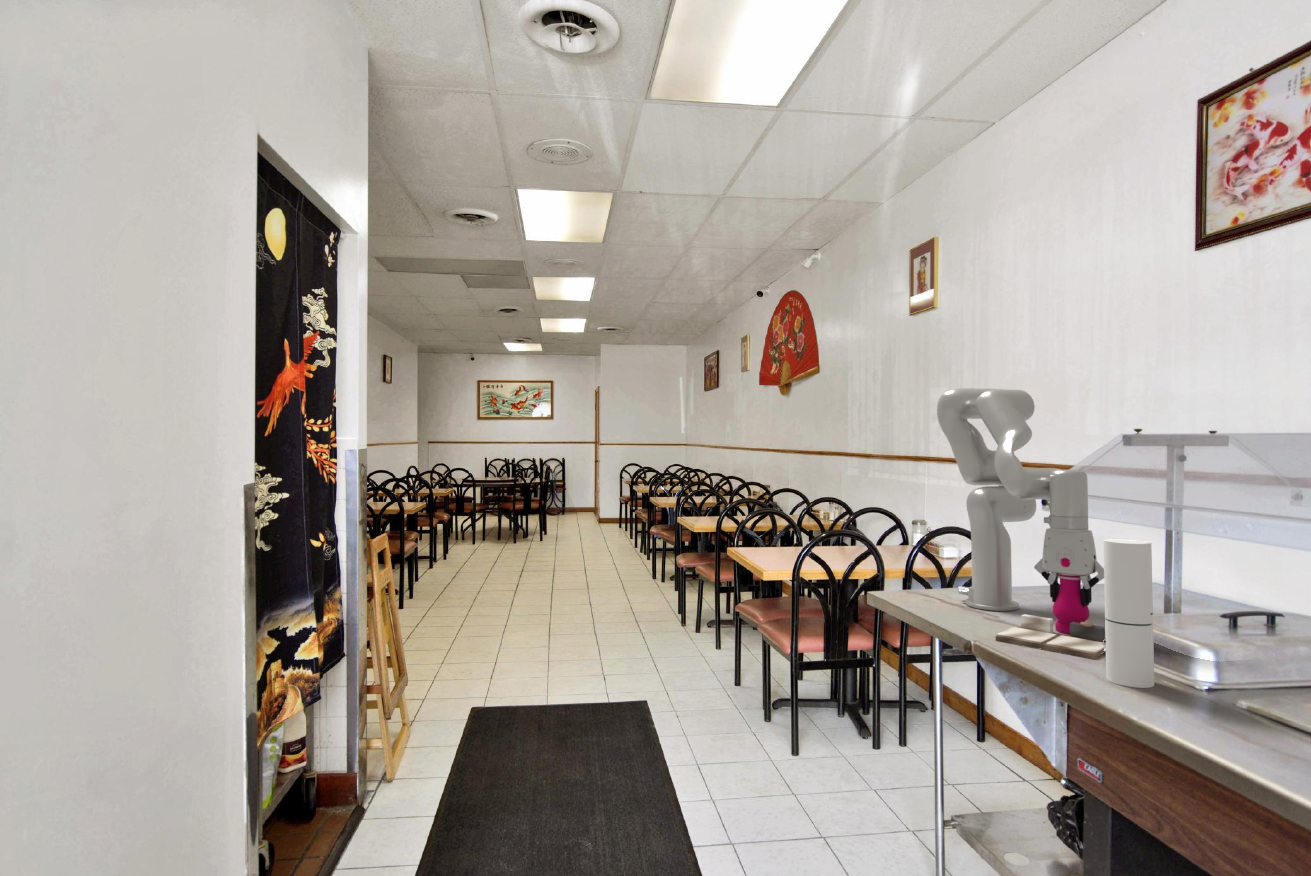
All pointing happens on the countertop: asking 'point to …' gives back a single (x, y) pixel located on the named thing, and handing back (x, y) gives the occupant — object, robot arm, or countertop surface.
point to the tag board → (1056, 636)
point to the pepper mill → (1069, 601)
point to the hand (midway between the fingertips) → (1070, 602)
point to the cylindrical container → (1129, 612)
